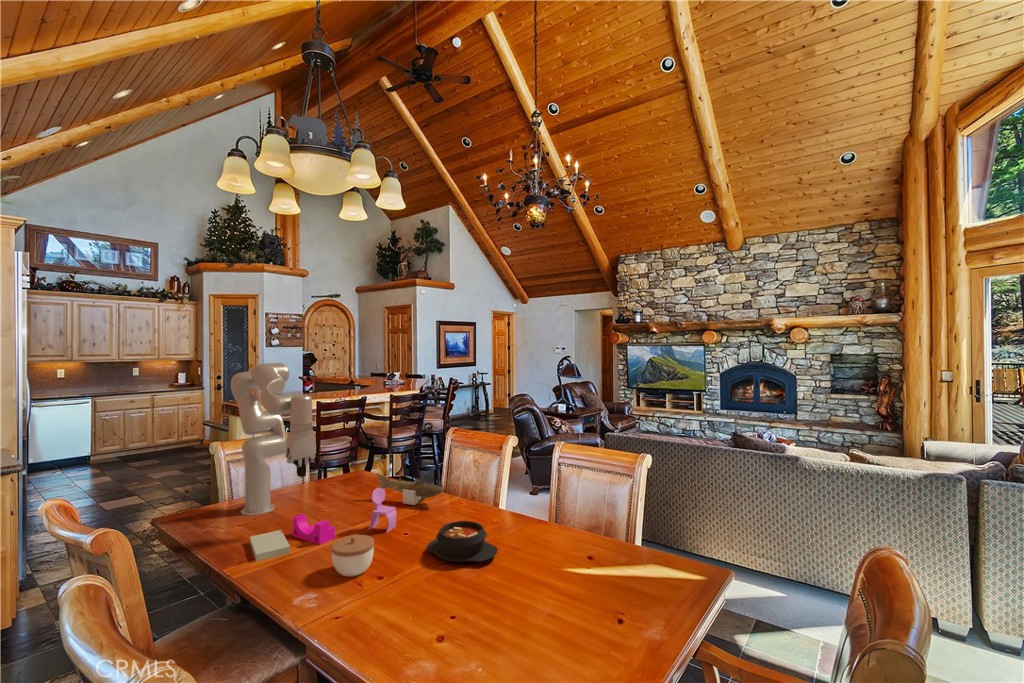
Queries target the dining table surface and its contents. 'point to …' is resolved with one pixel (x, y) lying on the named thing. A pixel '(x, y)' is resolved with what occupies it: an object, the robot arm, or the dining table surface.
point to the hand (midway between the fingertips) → (301, 476)
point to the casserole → (462, 543)
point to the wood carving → (410, 489)
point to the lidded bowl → (352, 554)
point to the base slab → (269, 545)
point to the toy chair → (382, 510)
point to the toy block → (312, 530)
